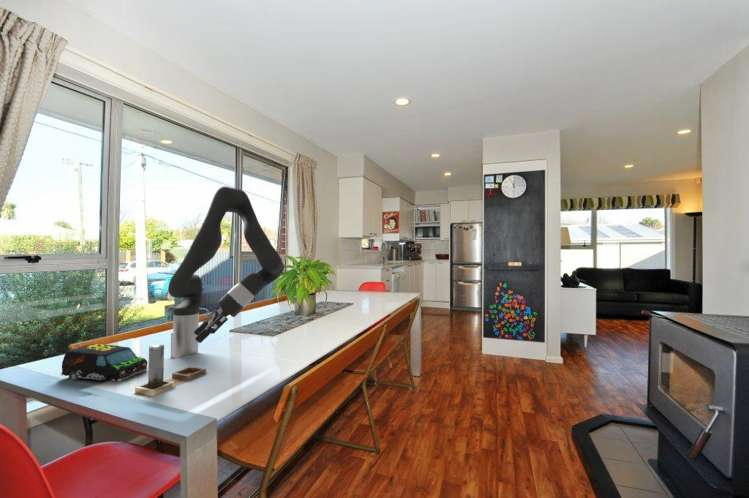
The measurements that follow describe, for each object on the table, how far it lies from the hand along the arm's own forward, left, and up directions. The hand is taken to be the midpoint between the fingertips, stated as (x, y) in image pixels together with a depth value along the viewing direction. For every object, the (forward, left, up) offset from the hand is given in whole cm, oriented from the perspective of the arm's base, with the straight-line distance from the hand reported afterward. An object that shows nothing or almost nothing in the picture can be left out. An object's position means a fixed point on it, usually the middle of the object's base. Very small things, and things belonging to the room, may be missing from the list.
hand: (196, 337), depth 105 cm
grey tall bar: (-7, -8, -14) cm, 18 cm away
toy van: (-35, -4, -16) cm, 39 cm away
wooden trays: (-7, -2, -16) cm, 17 cm away
